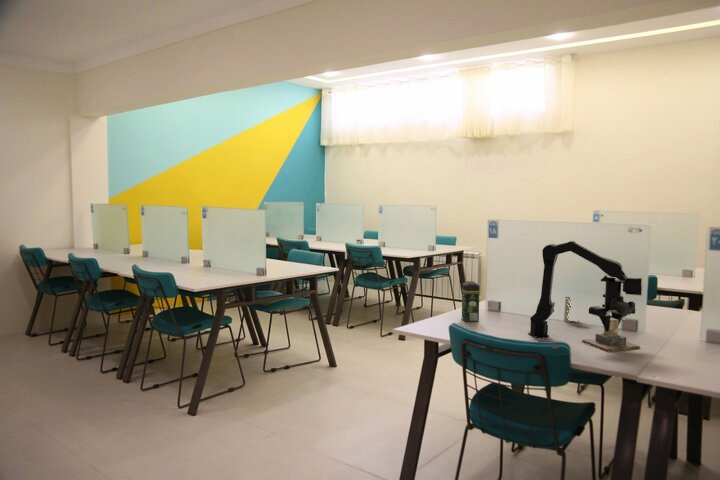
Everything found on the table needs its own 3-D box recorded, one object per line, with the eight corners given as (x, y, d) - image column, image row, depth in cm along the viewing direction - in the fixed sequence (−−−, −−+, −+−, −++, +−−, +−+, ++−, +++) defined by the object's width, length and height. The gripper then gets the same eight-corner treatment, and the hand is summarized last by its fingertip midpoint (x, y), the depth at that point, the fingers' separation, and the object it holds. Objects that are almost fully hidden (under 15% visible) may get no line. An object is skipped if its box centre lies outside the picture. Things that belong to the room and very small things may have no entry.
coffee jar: (460, 317, 266) (461, 280, 264) (476, 317, 266) (477, 280, 264) (463, 322, 256) (464, 283, 254) (480, 322, 256) (481, 283, 254)
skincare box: (563, 321, 260) (564, 296, 258) (564, 319, 263) (566, 294, 262) (578, 322, 257) (579, 297, 255) (579, 320, 260) (580, 295, 259)
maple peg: (610, 339, 217) (611, 320, 216) (603, 337, 220) (604, 318, 219) (617, 339, 218) (618, 319, 217) (610, 336, 221) (611, 317, 220)
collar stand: (607, 351, 210) (607, 341, 210) (582, 342, 223) (582, 332, 223) (639, 348, 215) (640, 338, 215) (613, 339, 228) (613, 329, 228)
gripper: (609, 298, 207) (607, 338, 208) (647, 295, 212) (645, 334, 214) (588, 292, 217) (586, 330, 219) (625, 290, 223) (623, 327, 224)
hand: (610, 331), depth 219 cm, fingers closed on maple peg, 4 cm apart
